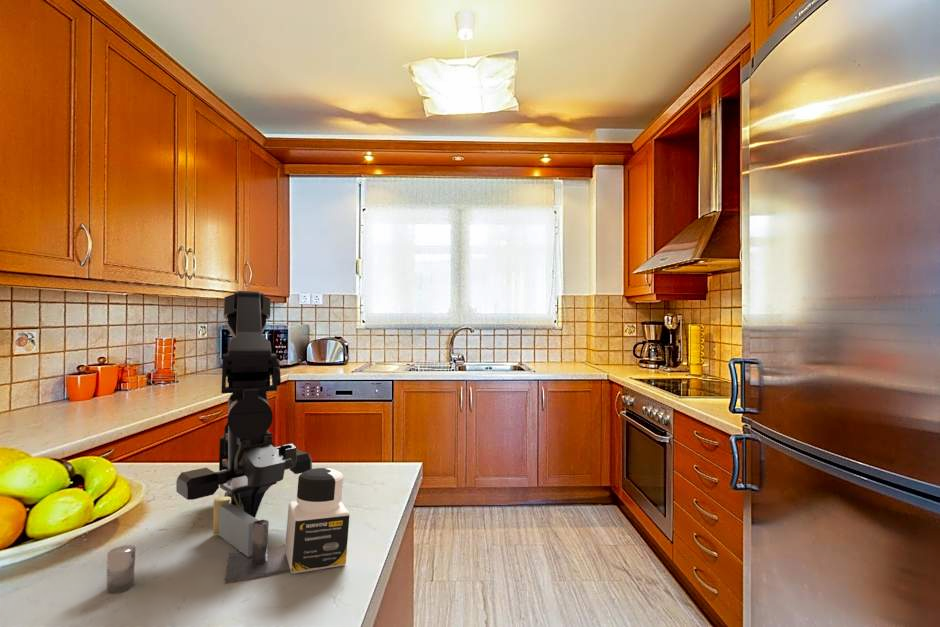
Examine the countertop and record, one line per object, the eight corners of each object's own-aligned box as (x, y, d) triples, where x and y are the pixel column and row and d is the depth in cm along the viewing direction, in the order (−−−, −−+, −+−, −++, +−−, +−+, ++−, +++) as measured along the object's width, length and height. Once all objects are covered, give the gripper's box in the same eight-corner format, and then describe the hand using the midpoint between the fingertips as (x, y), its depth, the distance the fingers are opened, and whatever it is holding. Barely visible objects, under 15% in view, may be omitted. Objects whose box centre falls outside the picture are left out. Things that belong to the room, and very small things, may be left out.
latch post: (109, 584, 60) (111, 547, 60) (136, 579, 61) (137, 543, 61) (103, 595, 57) (104, 557, 58) (131, 590, 59) (132, 553, 59)
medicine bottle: (290, 574, 62) (298, 480, 62) (284, 552, 68) (291, 466, 69) (346, 566, 65) (353, 476, 66) (335, 545, 71) (341, 463, 72)
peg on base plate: (228, 556, 68) (229, 516, 68) (289, 546, 71) (290, 508, 71) (224, 583, 60) (226, 539, 61) (292, 571, 63) (293, 529, 64)
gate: (262, 552, 68) (262, 516, 68) (244, 558, 66) (245, 521, 66) (226, 527, 76) (227, 495, 77) (210, 531, 75) (211, 499, 75)
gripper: (201, 445, 63) (201, 566, 62) (328, 423, 76) (329, 522, 76) (175, 434, 71) (175, 541, 70) (295, 415, 84) (296, 505, 84)
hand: (249, 527), depth 75 cm, fingers closed
